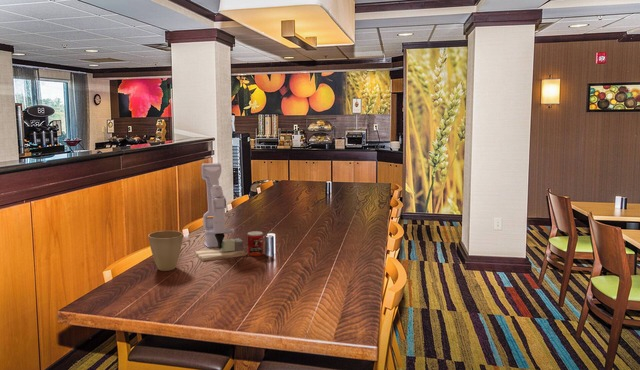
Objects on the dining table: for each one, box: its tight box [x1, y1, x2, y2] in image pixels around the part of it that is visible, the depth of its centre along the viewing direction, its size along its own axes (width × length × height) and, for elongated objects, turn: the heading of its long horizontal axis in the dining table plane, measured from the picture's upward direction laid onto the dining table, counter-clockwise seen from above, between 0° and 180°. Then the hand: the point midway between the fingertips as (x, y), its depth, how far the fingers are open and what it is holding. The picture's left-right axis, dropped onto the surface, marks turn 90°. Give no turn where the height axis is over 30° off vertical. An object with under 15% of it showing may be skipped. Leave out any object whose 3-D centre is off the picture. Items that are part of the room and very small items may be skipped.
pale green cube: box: [220, 238, 235, 252], centre depth 249 cm, size 5×6×5 cm
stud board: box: [194, 238, 247, 262], centre depth 247 cm, size 14×22×6 cm, turn 118°
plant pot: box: [147, 230, 184, 272], centre depth 224 cm, size 15×15×16 cm
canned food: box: [246, 230, 264, 257], centre depth 248 cm, size 8×8×11 cm
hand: (219, 248), depth 247 cm, fingers closed
